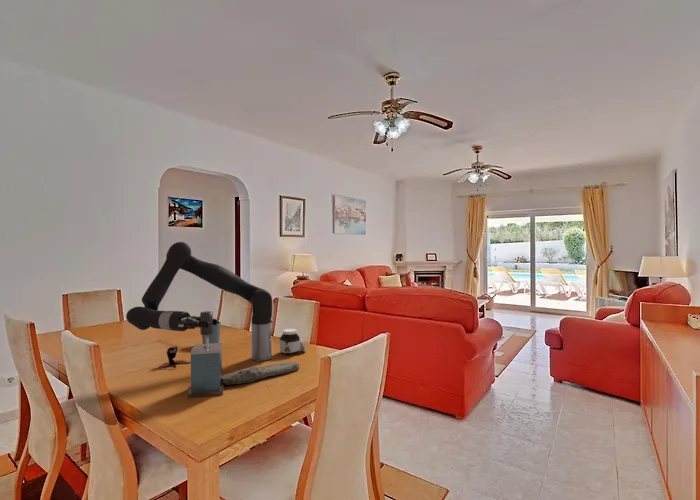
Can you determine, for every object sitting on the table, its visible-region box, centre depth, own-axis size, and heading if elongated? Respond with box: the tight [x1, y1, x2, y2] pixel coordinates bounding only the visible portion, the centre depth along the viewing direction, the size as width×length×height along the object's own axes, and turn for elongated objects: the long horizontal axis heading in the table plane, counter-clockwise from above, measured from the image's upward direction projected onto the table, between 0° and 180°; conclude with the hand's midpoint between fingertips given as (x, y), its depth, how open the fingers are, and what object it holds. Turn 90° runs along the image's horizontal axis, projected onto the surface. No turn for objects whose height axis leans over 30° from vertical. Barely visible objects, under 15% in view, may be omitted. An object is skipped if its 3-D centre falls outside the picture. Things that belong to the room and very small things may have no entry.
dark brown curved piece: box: [157, 345, 189, 371], centre depth 177 cm, size 11×12×15 cm
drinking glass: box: [201, 321, 221, 344], centre depth 209 cm, size 10×10×12 cm
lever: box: [199, 311, 214, 348], centre depth 146 cm, size 4×4×25 cm
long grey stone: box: [221, 361, 300, 385], centre depth 161 cm, size 35×5×10 cm
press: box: [187, 342, 226, 399], centre depth 146 cm, size 12×12×16 cm
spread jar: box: [278, 328, 307, 356], centre depth 195 cm, size 12×11×12 cm
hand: (212, 323), depth 145 cm, fingers closed on lever, 4 cm apart
